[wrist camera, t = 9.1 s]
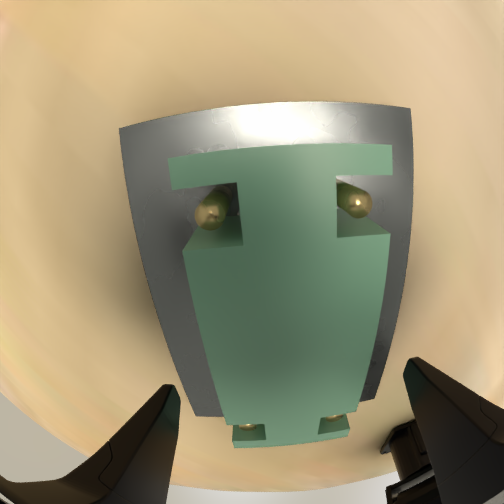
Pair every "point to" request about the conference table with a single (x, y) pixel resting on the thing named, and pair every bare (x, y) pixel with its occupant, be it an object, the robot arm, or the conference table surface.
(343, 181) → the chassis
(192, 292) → the green notched block
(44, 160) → the conference table surface
